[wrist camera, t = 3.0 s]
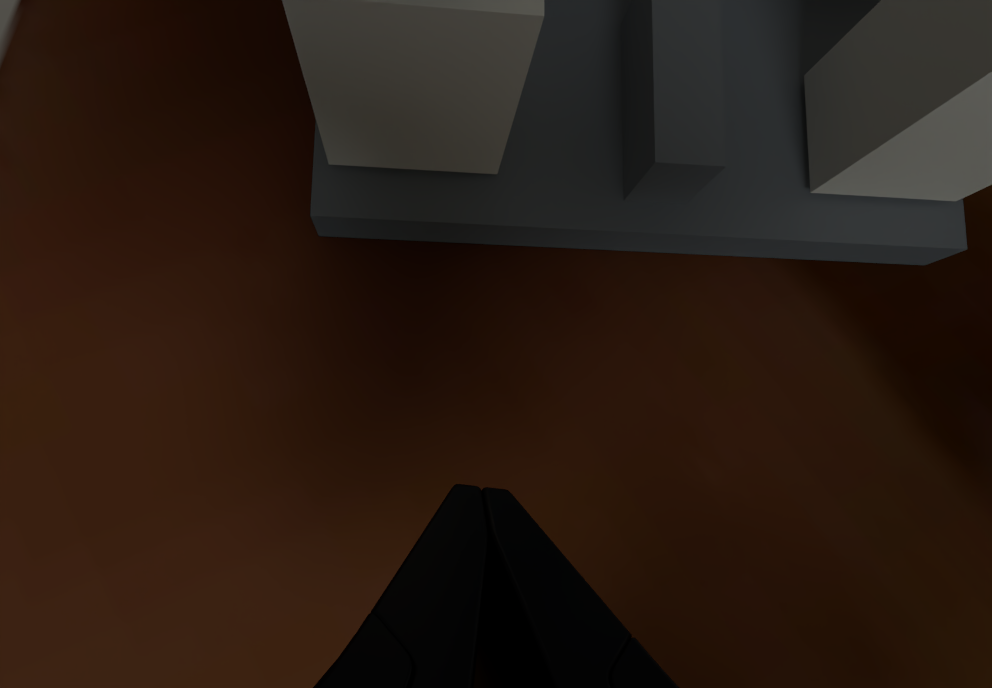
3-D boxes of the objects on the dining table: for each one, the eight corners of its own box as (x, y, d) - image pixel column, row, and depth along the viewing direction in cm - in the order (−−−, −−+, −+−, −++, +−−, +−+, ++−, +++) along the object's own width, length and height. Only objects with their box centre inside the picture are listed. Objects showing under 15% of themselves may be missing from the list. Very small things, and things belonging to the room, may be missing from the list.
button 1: (956, 201, 24) (1281, 47, 15) (810, 192, 23) (1058, 27, 14) (946, 86, 24) (1252, -127, 15) (804, 75, 24) (1036, -153, 15)
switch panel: (925, 265, 26) (1055, 216, 20) (319, 235, 23) (291, 172, 18) (900, -42, 28) (1013, -159, 22) (337, -97, 25) (317, -241, 20)
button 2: (497, 174, 22) (554, -18, 13) (328, 164, 21) (269, -43, 13) (499, 51, 23) (554, -210, 14) (335, 39, 22) (284, -241, 13)
